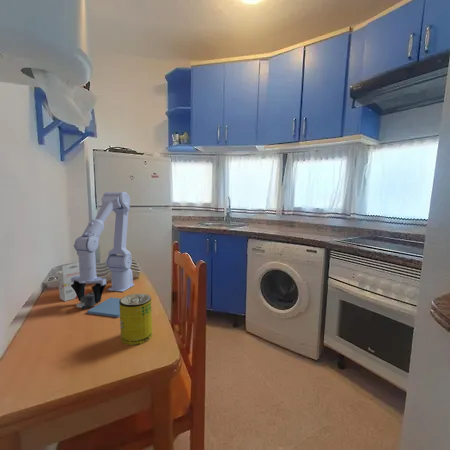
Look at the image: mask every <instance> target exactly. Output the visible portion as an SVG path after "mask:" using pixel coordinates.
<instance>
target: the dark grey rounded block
mask: <svg viewBox="0 0 450 450" xmlns="http://www.w3.org/2000/svg"><path fill="white" fill-rule="evenodd" d="M80 300H81V301H79V303H77V304H76V305H75V306H76V308H80V310H89V309H91V308H93V307H95V306H96V305H98V303H95V297H94V292H93V291H92V292H89V293H87V294H86V295H85V296H83V297H81V298H80Z"/></svg>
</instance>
